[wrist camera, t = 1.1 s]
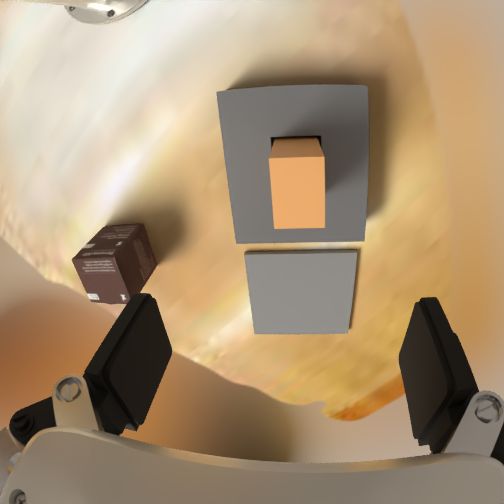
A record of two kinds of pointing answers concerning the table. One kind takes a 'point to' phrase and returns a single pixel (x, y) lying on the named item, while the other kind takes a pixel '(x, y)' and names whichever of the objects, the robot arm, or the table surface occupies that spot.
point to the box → (115, 263)
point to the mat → (301, 291)
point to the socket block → (296, 124)
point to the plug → (297, 182)
